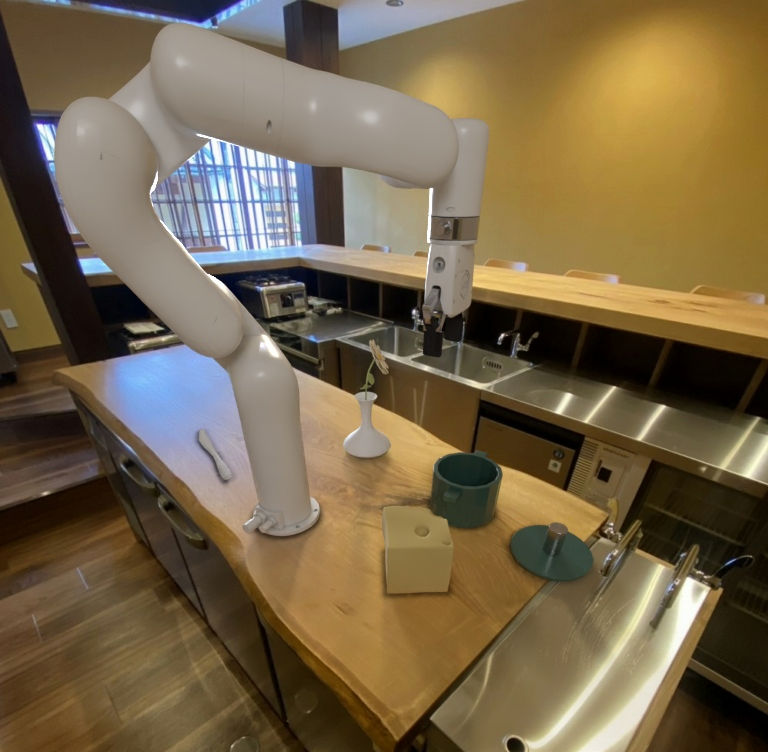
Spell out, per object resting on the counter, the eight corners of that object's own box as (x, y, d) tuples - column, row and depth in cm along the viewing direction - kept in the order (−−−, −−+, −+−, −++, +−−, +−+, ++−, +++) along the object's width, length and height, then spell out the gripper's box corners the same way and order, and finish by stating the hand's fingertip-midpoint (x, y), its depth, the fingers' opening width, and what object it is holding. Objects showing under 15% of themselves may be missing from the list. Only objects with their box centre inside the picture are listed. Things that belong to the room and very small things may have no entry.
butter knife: (219, 480, 90) (232, 475, 92) (194, 431, 109) (206, 427, 110) (219, 482, 91) (233, 478, 92) (195, 433, 109) (206, 429, 110)
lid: (596, 543, 76) (607, 517, 72) (585, 595, 67) (597, 567, 63) (520, 521, 81) (527, 495, 77) (500, 565, 72) (506, 538, 68)
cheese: (440, 549, 75) (446, 503, 69) (450, 596, 66) (457, 549, 60) (382, 550, 74) (382, 504, 68) (383, 597, 66) (384, 550, 60)
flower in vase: (378, 467, 96) (377, 355, 81) (334, 456, 100) (326, 347, 84) (400, 442, 105) (404, 337, 90) (360, 433, 109) (356, 331, 94)
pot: (505, 493, 88) (513, 456, 83) (478, 544, 76) (485, 504, 70) (448, 477, 93) (453, 441, 87) (414, 523, 80) (416, 484, 75)
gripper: (456, 237, 56) (444, 366, 67) (494, 227, 68) (479, 338, 79) (405, 234, 59) (401, 358, 69) (450, 225, 71) (441, 332, 81)
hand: (442, 347), depth 74 cm, fingers open, 9 cm apart
